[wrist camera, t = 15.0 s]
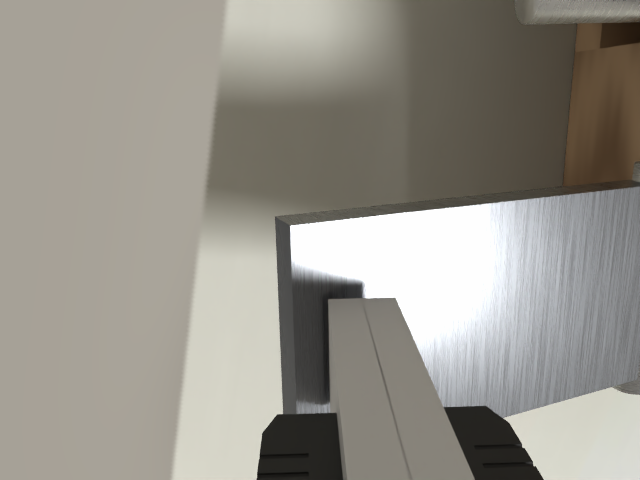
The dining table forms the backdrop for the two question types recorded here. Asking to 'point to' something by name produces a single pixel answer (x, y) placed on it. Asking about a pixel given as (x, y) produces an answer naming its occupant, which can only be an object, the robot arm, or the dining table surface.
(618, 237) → the silver flat rectangular plate
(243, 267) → the dining table surface
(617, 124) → the block
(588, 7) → the pin
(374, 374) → the robot arm
